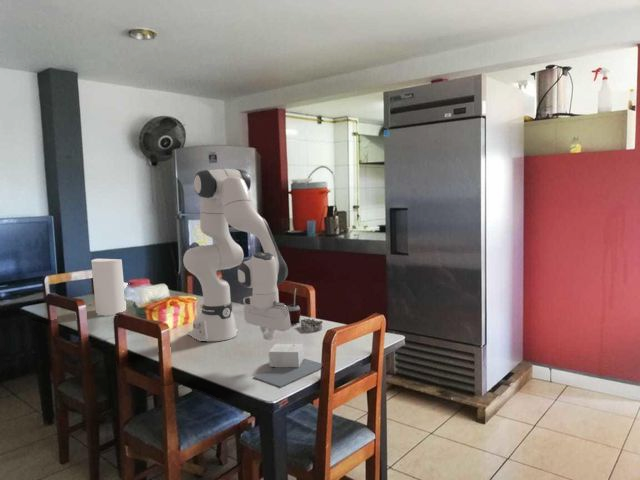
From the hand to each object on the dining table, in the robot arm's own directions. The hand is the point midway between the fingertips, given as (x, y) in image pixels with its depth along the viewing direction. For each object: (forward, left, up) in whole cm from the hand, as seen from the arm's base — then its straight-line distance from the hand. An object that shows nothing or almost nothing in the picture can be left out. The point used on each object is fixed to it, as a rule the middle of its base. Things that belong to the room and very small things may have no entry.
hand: (268, 339), depth 170 cm
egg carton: (-18, +41, -10) cm, 45 cm away
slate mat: (+11, 0, -9) cm, 14 cm away
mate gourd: (-30, +42, -10) cm, 53 cm away
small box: (0, +1, -6) cm, 6 cm away
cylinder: (-125, +4, -10) cm, 126 cm away
